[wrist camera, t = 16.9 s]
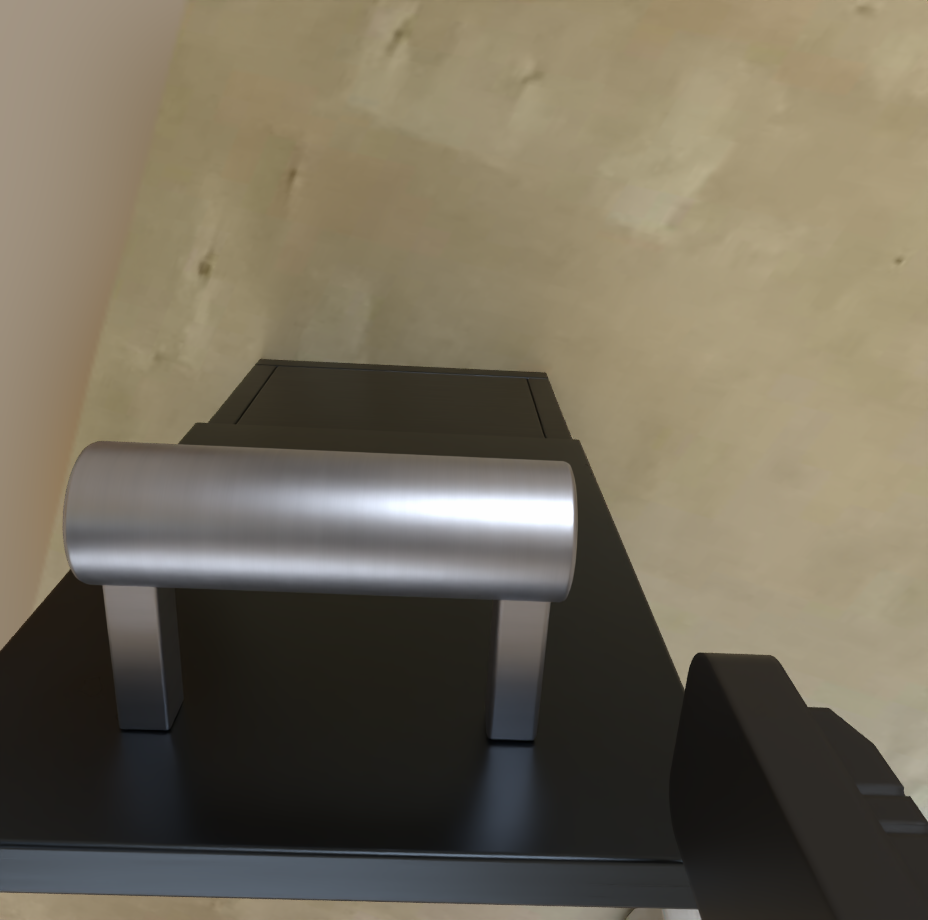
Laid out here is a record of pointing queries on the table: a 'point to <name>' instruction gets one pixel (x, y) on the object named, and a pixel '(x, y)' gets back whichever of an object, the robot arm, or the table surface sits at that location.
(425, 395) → the black hinged case
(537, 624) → the lid
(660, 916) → the cup
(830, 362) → the table surface
